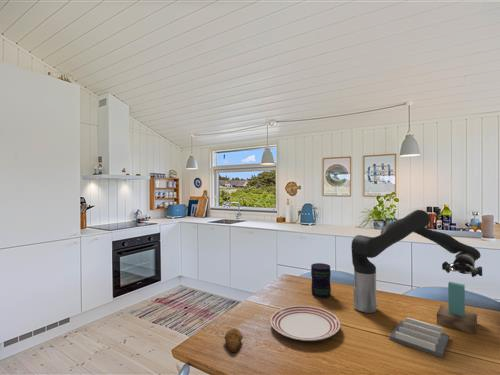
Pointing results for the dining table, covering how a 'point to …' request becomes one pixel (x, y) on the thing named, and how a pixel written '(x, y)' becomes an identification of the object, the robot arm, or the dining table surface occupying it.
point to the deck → (457, 320)
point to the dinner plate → (305, 323)
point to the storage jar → (321, 280)
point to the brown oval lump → (233, 339)
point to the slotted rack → (421, 336)
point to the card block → (456, 298)
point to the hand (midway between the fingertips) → (460, 272)
